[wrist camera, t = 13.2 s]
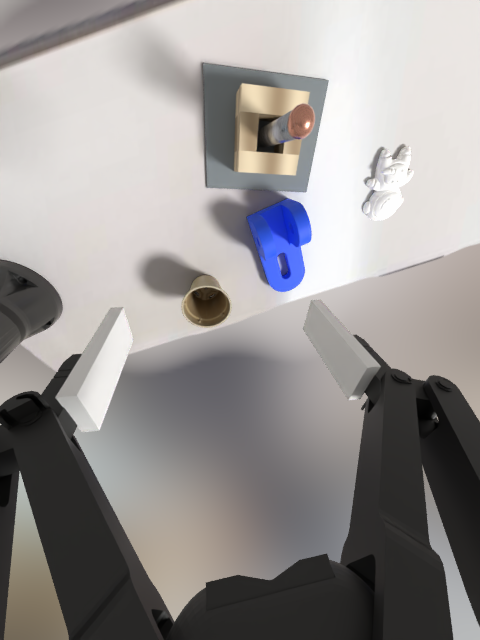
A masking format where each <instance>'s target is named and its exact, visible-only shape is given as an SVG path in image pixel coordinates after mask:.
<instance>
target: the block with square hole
mask: <svg viewBox="0 0 480 640" xmlns="http://www.w3.org/2000/svg"><path fill="white" fill-rule="evenodd" d="M309 94H310V92H307V91H299V90H291V89H283V88H275V87H267V86H259V85H252V84H244V83H242V84H241V86H240V87H239V89H238V91H237V93H236V113H235V148H234V171H235V172H246V173H263V174H279V175H296V171H297V165H298V159H299V153H300V148H301V142H302V139H301V140H297V139H296V140H292V141H288V142H284V143H280V144H277V145H275V146H274V153H266V152H256V150H257V137H258V124H259V121H269V122H273V121H274V120H276V119H278V118H279V117H281V116H283V115H284V114H286V113H288V112H289V111H291V110H293V109H294V108H295V107H296V106H297V105H299V104H302V103H306V104H308V100H309Z"/></svg>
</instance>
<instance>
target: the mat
mask: <svg viewBox="0 0 480 640" xmlns="http://www.w3.org/2000/svg"><path fill="white" fill-rule="evenodd" d="M203 78H204V108H205V139H206V169H207V188H227V189H248V190H269V191H290V192H306V191H307V186H308V181H309V176H310V171H311V166H312V161H313V156H314V151H315V146H316V141H317V136H318V131H319V126H320V121H321V116H322V111H323V106H324V101H325V96H326V91H327V86H328V81H329V80H323V79H316V78H308V77H301V76H294V75H286V74H279V73H272V72H265V71H257V70H250V69H243V68H236V67H228V66H221V65H214V64H206V63H203ZM242 83H244V84H252V85H259V86H267V87H275V88H283V89H291V90H299V91H307V92H310V94H309V100H308V104H309V105H310V106H311V107H312V108H313V110H314V113H315V123H314V127H313V129H312V131H311V132H310V134H309V135H308V136H307V137H305V138H304V139H302V142H301V148H300V153H299V159H298V165H297V171H296V175H279V174H263V173H246V172H235V171H234V148H235V113H236V93H237V91H238V89H239V87H240V86H241V84H242ZM269 123H271V122H269V121H259V124H258V130H259V129H261V128H263V127H264V126H266V125H268V124H269ZM274 146H275V145H273V146H269V147H265V148H260V147H259V146H258V145H257V150H256V152H266V153H274Z"/></svg>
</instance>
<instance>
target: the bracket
mask: <svg viewBox="0 0 480 640" xmlns="http://www.w3.org/2000/svg"><path fill="white" fill-rule="evenodd" d="M247 220H248V223H249V226H250V229H251V232H252V235H253V238H254V241H255V245H256V248H257V251H258V254H259V257H260V260H261V263H262V266H263V269H264V272H265V275H266V278H267V281H268V282H269V284H270V286H271V287H272V288H273V289H275V290H277V291H280V292H285V291H289V290H292V289H294V288H295V287H296V286H298V285H299V284H300V282H301V281H302V279H303V277H304V273H305V267H304V262H303V257H302V251H301V246H302V245H304V244H306V243H309V242H310V240H311V225H310V221H309V218H308V215H307V212H306V210H305V208H304V207H303V205H302V204H301V203H299V202H297V201H294V200H291V199H285V200H283V201H281V202H279V203H276V204H274V205H272V206H270V207H267V208H265V209H263V210H261V211H258V212H256V213H254V214H252V215H249V216H247ZM280 253H284V255H285V259H286V263H287V267H288V273H287V274H286V275H284V276H282V275H281V271H280V267H279V264H278V260H277V257H278V255H279V254H280Z"/></svg>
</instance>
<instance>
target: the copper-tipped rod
mask: <svg viewBox="0 0 480 640" xmlns="http://www.w3.org/2000/svg"><path fill="white" fill-rule="evenodd" d="M314 123H315V113H314V110H313V108H312V107H311V106H310V105H309V104H306V103H302V104H299V105H297V106H296V107H295V108H294V109H293V110H291V111H289V112H288V113H286V114H284V115H283V116H281V117H279V118H278V119H276V120H274V121H273V122H271V123H269V124H268V125H266V126H264V127H263V128H261V129H259V130H258V137H257V145H258V146H259V147H260V148H265V147H269V146H273V145H277V144H280V143H284V142H288V141H292V140H296V139H297V140H301V139H304V138H305V137H307V136H308V135H309V134H310V132H311V131H312V129H313V127H314Z"/></svg>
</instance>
